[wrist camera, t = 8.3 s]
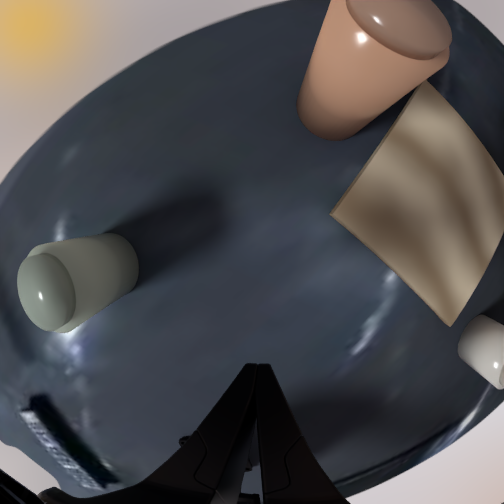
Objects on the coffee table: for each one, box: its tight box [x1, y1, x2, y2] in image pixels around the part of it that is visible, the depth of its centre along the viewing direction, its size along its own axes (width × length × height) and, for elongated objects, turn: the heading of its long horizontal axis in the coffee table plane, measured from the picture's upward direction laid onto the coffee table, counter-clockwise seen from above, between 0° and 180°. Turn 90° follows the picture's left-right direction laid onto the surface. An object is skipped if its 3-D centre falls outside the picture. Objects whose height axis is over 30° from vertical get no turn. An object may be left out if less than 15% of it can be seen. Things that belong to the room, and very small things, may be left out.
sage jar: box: [17, 233, 139, 333], centre depth 16 cm, size 5×5×9 cm
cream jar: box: [458, 315, 504, 389], centre depth 17 cm, size 5×5×8 cm
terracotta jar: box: [296, 0, 452, 141], centre depth 12 cm, size 5×5×13 cm
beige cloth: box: [329, 80, 504, 327], centre depth 19 cm, size 16×16×1 cm
